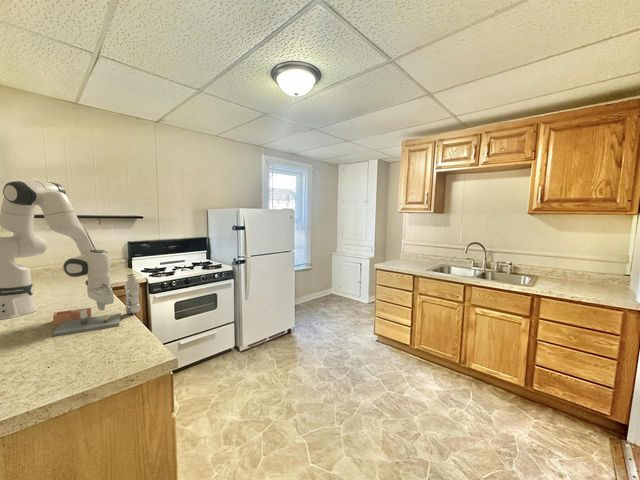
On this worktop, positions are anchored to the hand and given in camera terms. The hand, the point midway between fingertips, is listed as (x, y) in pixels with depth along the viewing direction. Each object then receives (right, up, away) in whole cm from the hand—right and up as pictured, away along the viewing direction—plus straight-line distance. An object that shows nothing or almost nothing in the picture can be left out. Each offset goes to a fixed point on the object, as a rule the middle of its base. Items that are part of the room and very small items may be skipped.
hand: (101, 309), depth 136 cm
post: (+7, -3, -12) cm, 14 cm away
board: (+4, -4, -12) cm, 13 cm away
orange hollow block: (-9, -3, -5) cm, 11 cm away
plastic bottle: (+12, -3, +5) cm, 14 cm away
